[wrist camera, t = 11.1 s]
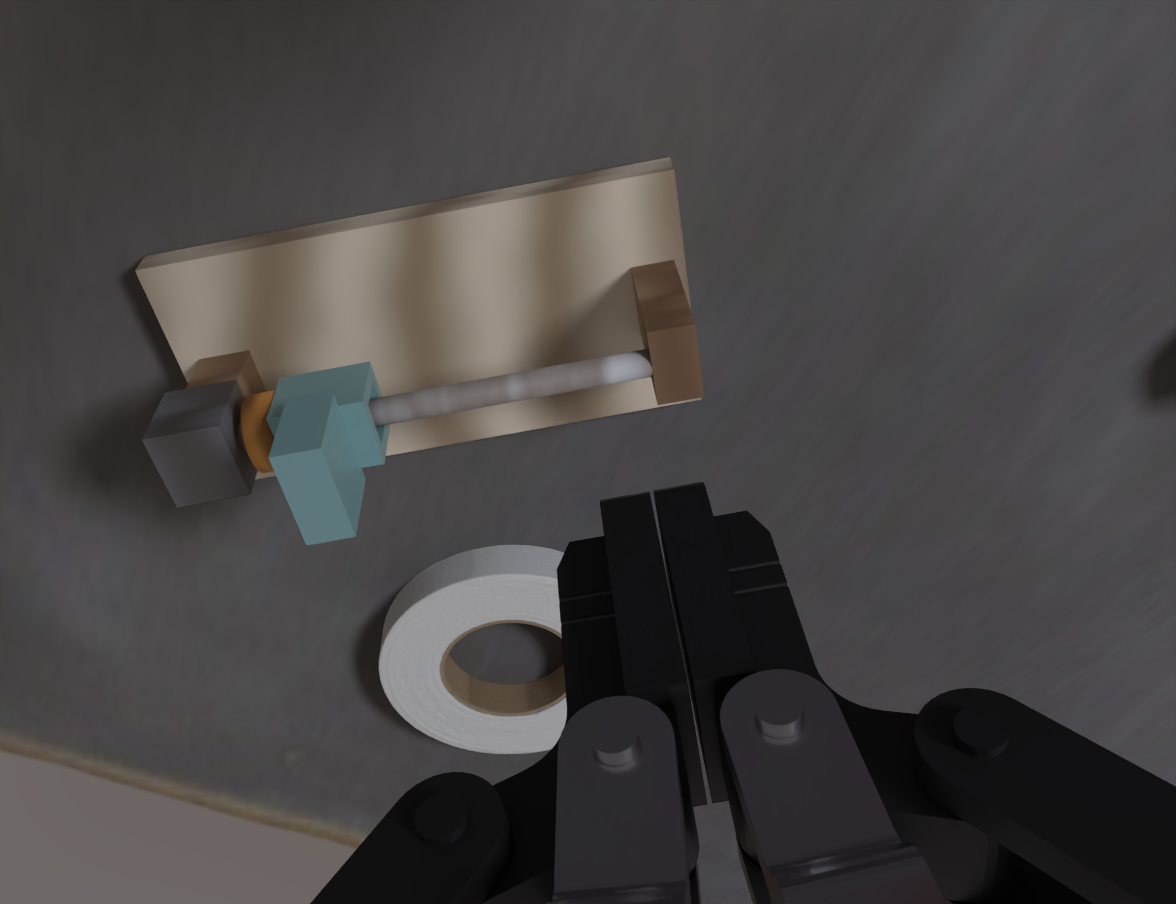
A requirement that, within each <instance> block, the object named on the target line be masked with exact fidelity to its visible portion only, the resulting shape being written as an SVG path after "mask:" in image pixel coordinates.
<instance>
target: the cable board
mask: <svg viewBox="0 0 1176 904" xmlns="http://www.w3.org/2000/svg"><path fill="white" fill-rule="evenodd" d="M135 272H136V274H137V276H138V278H139V280H140V283H141V285H142V287H143V289H144V291H145V293H146V295H147V298H148V300H149V302H150V304H151V306H152V308H153V310H154V312H155V315H156V317H157V319H158V321H159V323H160V325H161V327H162V330H163V332H164V334H165V336H166V338H167V340H168V342H169V345H170V347H171V349H172V351H173V353H174V355H175V357H176V359H177V362H178V364H179V366H180V368H181V370H182V372H183V374H184V377H185V379H186V381H187V383H188V384H187V387H186V389H181V390H176V391H170V392H165V393H164V395H163V397H162V399H161V401H160V403H159V406H158V408H157V410H156V412H155V414H154V416H153V418H152V420H151V422H150V424H149V426H148V428H147V430H146V432H145V434H144V436H143V438H142V441H143V443H144V445H145V447H146V449H147V451H148V453H149V455H150V457H151V459H152V461H153V463H154V464H155V466H156V468H157V470H158V472H159V474H160V476H161V478H162V480H163V482H164V484H165V486H166V488H167V489H168V491H169V493H170V495H171V497H172V499H173V501H174V503H175V505H176V507H177V508H179V507H184V506H190V505H195V504H201V503H206V502H212V501H218V500H223V499H229V498H234V497H240V496H246V495H250V493H251V490H252V487H253V484H254V481H255V479H261V478H266V477H272V476H276V474H275V472H274V469H273V467H272V465H271V463H270V460H269V458H268V457H269V454H270V451H271V448H272V444H273V441H274V436H273V434H272V431H271V429H270V427H269V424H268V422H267V420H266V418H267V415H268V412H269V409H270V406H271V403H272V400H273V397H274V394H275V391H276V388H277V384H278V381H279V378H282V377H287V376H293V375H298V374H304V373H309V372H315V371H320V370H326V369H331V368H336V367H342V366H347V365H353V364H358V363H364V362H369V361H370V362H371V365H372V368H373V371H374V374H375V377H376V380H377V383H378V386H379V389H380V392H381V395H382V397H379V398H374V399H369V404H368V407H369V409H370V412H371V415H372V418H373V421H374V424H375V427H377V426H383V425H388V424H390V430H389V437H388V443H387V450H386V456H389V455H394V454H400V453H406V452H411V451H417V450H422V449H428V448H433V447H439V446H444V445H450V444H456V443H461V442H467V441H472V440H478V439H483V438H489V437H495V436H500V435H506V434H511V433H517V432H522V431H528V430H534V429H539V428H545V427H550V426H556V425H561V424H567V423H572V422H578V421H584V420H589V419H595V418H600V417H606V416H611V415H617V414H623V413H628V412H634V411H639V410H645V409H650V408H656V407H661V406H667V405H673V404H678V403H684V402H689V401H695V400H700V399H702V397H704V393H703V384H702V376H701V367H700V359H699V350H698V342H697V333H696V325H695V321H694V318H693V315H692V312H691V305H690V297H689V288H688V280H687V271H686V263H685V255H684V246H683V238H682V229H681V221H680V213H679V204H678V196H677V187H676V179H675V171H674V167H673V165H672V162H671V160H670V157H668V158H663V159H657V160H652V161H647V162H641V163H636V164H631V165H626V166H620V167H615V168H610V169H604V170H599V171H594V172H588V173H583V174H578V175H573V176H567V177H562V178H557V179H551V180H546V181H541V182H535V183H530V184H525V185H519V186H514V187H509V188H504V189H498V190H493V191H488V192H482V193H477V194H472V195H466V196H461V197H456V198H450V199H445V200H440V201H435V202H429V203H424V204H419V205H413V206H408V207H403V208H397V209H392V210H387V211H381V212H376V213H371V214H366V215H360V216H355V217H350V218H344V219H339V220H334V221H328V222H323V223H318V224H312V225H307V226H302V227H297V228H291V229H286V230H281V231H275V232H270V233H265V234H259V235H254V236H249V237H243V238H238V239H233V240H228V241H222V242H217V243H212V244H206V245H201V246H196V247H190V248H185V249H180V250H175V251H169V252H164V253H159V254H153V255H148V256H144V258H143V259H142V261H141V262H140V264H139V265H138V267H137V268H136V270H135Z"/></svg>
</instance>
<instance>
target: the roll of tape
mask: <svg viewBox="0 0 1176 904" xmlns="http://www.w3.org/2000/svg"><path fill="white" fill-rule="evenodd" d="M563 555H564V553H563V552H560V551H557V550H553V549H549V548H543V547H536V546H527V545H499V546H491V547H484V548H479V549H474V550H470V551H466V552H462V553H459V554H456V555H454V556H451V557H449V558H446V559H444V560H442V561H439V562H437V563H435V564H433V565H432V566H430V567H428V568H426V569H425V570H423V571H422V572H420V573H419V574H418V575H416V576H415V577H414V578H413V579H412V580H410V581H409V582H408V583H407V584H406V585H405V587H404V588H403V589H402V590H401V591H400V592H399V594H398V595H397V596H396V598H395V599H394V601H393V602H392V604H391V606H390V608H389V610H388V613H387V615H386V618H385V622H384V627H383V633H382V640H381V648H380V655H379V675H380V681H381V684H382V687H383V689H384V692H385V694H386V696H387V698H388V700H389V701H390V703H391V704H392V706H393V707H394V708H395V710H396V711H397V712H398V713H399V714H400V715H401V716H402V717H403V718H404V719H405V720H406V721H407V722H408V723H410V724H411V725H412V726H414V727H415V728H416V729H418V730H420V731H421V732H423V733H425V734H426V735H428V736H430V737H432V738H434V739H436V740H439V741H441V742H444V743H447V744H449V745H452V746H455V747H459V748H463V749H467V750H471V751H477V752H484V753H494V754H520V753H532V752H539V751H545V750H550V749H552V748H553V747H554V745H555V744H556V743H557V741H558V739H559V738H560V736H561V733H562V731H563V729H564V726H565V722H566V717H567V704H566V690H565V676H564V663H563V664H562V665H561V666H560V667H559V668H558V669H556V670H555V671H554V672H552V673H550V674H549V675H547V676H545V677H543V678H540V679H538V680H535V681H532V682H528V683H522V684H495V683H490V682H485V681H482V680H480V679H477V678H475V677H473V676H471V675H469V674H467V673H466V672H464V671H463V670H462V669H460V668H459V667H458V666H457V665H456V664H455V662H454V661H453V660H452V658H451V656H450V655H449V652H450V650H451V649H452V647H453V646H454V645H455V644H456V643H457V642H458V641H459V640H460V639H462V638H463V637H464V636H466V635H467V634H469V633H471V632H473V631H475V630H477V629H480V628H483V627H486V626H490V625H495V624H502V623H522V624H529V625H534V626H538V627H541V628H544V629H546V630H548V631H551V632H552V633H554V634H555V635H557V636H559V637H560V638H561V639H562V635H561V621H560V608H559V603H560V602H559V595H558V581H557V568H558V566H559V563H560V561H561V559H562V557H563Z"/></svg>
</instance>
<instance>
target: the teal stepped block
mask: <svg viewBox="0 0 1176 904" xmlns="http://www.w3.org/2000/svg"><path fill="white" fill-rule="evenodd" d="M379 397H382V395H381V392H380V389H379V386H378V383H377V380H376V377H375V374H374V371H373V368H372V365H371V362H370V361H369V362H364V363H358V364H353V365H347V366H342V367H336V368H331V369H326V370H320V371H315V372H309V373H304V374H298V375H293V376H287V377H282V378H279V381H278V384H277V388H276V391H275V394H274V397H273V400H272V403H271V406H270V409H269V412H268V415H267V418H266V420H267V422H268V424H269V427H270V429H271V431H272V434H273V436H274V441H273V444H272V448H271V451H270V454H269V457H268V458H269V460H270V463H271V465H272V467H273V469H274V472H275V474H276V476H277V479H278V481H279V483H280V485H281V488H282V490H283V492H284V495H285V497H286V499H287V502H288V504H289V506H290V508H291V511H292V513H293V515H294V518H295V520H296V522H297V525H298V527H299V529H300V531H301V534H302V536H303V538H304V541H305V543H306V545H312V544H318V543H323V542H329V541H335V540H340V539H346V538H352V537H356V532H357V526H358V521H359V515H360V509H361V503H362V497H363V491H364V485H365V476H364V474H363V471H362V468H364V467H370V466H376V465H381V464H385V457H386V450H387V443H388V437H389V430H390V424H388V425H383V426H377V427H375V424H374V421H373V418H372V415H371V412H370V409H369V407H368V404H369V399H374V398H379Z"/></svg>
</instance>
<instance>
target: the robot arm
mask: <svg viewBox="0 0 1176 904" xmlns="http://www.w3.org/2000/svg"><path fill="white" fill-rule="evenodd" d="M654 498H655V504H656V510H657V516H658V523H659V529H660V535H661V541H662V547H663V553H664V559H665V566H666V572H667V577H668V582H667V577H666V572H665V567H664V562H663V557H662V552H661V547H660V542H659V537H658V532H657V527H656V522H655V517H654V512H653V507H652V502H651V497H650V493H649V492H643V493H638V494H632V495H627V496H621V497H615V498H610V499H604V500H600V507H601V515H602V522H603V530H604V536H601V537H595V538H590V539H584V540H578V541H573V542H569V544H568V546H567V548H566V550H565V553H564V555H563V557H562V559H561V561H560V563H559V566H558V568H557V581H558V595H559V602H560V603H559V608H560V621H561V635H562V649H563V663H564V676H565V690H566V704H567V717H566V722H565V726H564V729H563V731H562V733H561V736H560V738H559V739H558V741H557V743H556V744H555V745H554V747H553V748H552V749H551V750H550V752H549V753H547V754H546V755H545V756H544V757H543V758H542V759H541V760H540V761H538V762H537V763H536V764H534V765H533V766H531V767H529V768H528V769H526V770H524V771H522V772H520V773H518V774H516V775H514V776H512V777H510V778H508V779H506V780H503V781H501V782H499V783H497V784H495V785H493V786H492V785H491V784H490V783H489V782H487V781H486V780H484V779H483V778H481V777H479V776H476V775H474V774H469V773H464V772H450V773H443V774H439V775H436V776H433V777H430V778H428V779H426V780H424V781H422V782H420V783H418V784H417V785H415V786H414V787H412V788H411V789H410V790H409V791H407V792H406V793H405V794H404V795H403V796H402V797H401V798H400V799H399V800H398V802H397V803H396V804H395V805H394V806H393V807H392V809H391V810H390V811H389V812H388V813H387V814H386V816H385V817H384V818H383V819H382V820H381V821H380V823H379V824H378V825H377V826H376V827H375V828H374V830H373V831H372V832H371V833H370V834H369V835H368V837H367V838H366V839H365V840H364V841H363V842H362V844H361V845H360V846H359V847H358V848H357V850H356V851H355V852H354V853H353V854H352V855H351V857H350V858H349V859H348V860H347V861H346V862H345V864H344V865H343V866H342V867H341V868H340V869H339V871H338V872H337V873H336V874H335V875H334V876H333V878H332V879H331V880H330V881H329V882H328V883H327V885H326V886H325V887H324V888H323V889H322V890H321V892H320V893H319V894H318V895H317V896H316V898H315V899H314V900H313V901H312V902H311V903H310V904H702V903H701V893H700V882H699V872H698V865H697V859H698V855H699V839H698V833H697V828H696V822H695V816H694V810H693V807H695V806H701V805H707V800H706V794H705V787H704V781H703V775H702V769H701V762H700V756H699V750H698V744H697V737H696V731H695V725H694V719H693V712H692V706H691V700H692V705H693V709H694V714H695V719H696V724H697V729H698V734H699V739H700V744H701V749H702V754H703V759H704V764H705V769H706V774H707V779H708V784H709V789H710V794H711V799H712V803H717V802H723V801H729V804H730V809H731V814H732V818H733V823H734V827H735V832H736V840H737V847H738V854H739V859H740V863H741V866H742V870H743V873H744V876H745V880H746V883H747V886H748V890H749V893H750V896H751V900H752V903H753V904H1176V786H1174V785H1172V784H1170V783H1168V782H1166V781H1164V780H1163V779H1161V778H1159V777H1157V776H1155V775H1153V774H1152V773H1150V772H1148V771H1146V770H1144V769H1142V768H1140V767H1139V766H1137V765H1135V764H1133V763H1131V762H1129V761H1128V760H1126V759H1124V758H1122V757H1120V756H1118V755H1116V754H1115V753H1113V752H1111V751H1109V750H1107V749H1105V748H1103V747H1102V746H1100V745H1098V744H1096V743H1094V742H1092V741H1091V740H1089V739H1087V738H1085V737H1083V736H1081V735H1079V734H1078V733H1076V732H1074V731H1072V730H1070V729H1068V728H1066V727H1065V726H1063V725H1061V724H1059V723H1057V722H1055V721H1053V720H1052V719H1050V718H1048V717H1046V716H1044V715H1042V714H1041V713H1039V712H1037V711H1035V710H1033V709H1031V708H1029V707H1028V706H1026V705H1024V704H1022V703H1020V702H1018V701H1016V700H1015V699H1013V698H1010V697H1008V696H1006V695H1004V694H1001V693H998V692H995V691H991V690H986V689H978V688H963V689H956V690H951V691H948V692H945V693H942V694H940V695H938V696H936V697H935V698H933V699H931V700H930V701H929V702H928V703H927V704H926V705H925V706H924V707H923V708H922V710H921V711H920V713H919V714H910V713H901V712H892V711H882V710H876V709H871V708H867V707H864V706H860V705H858V704H855V703H853V702H851V701H848V700H847V699H845V698H843V697H842V696H840V695H838V694H837V693H836V692H835V691H833V690H832V689H831V688H830V687H829V686H828V685H827V684H826V683H825V682H824V681H823V679H822V678H821V676H820V675H819V673H818V671H817V668H816V666H815V664H814V661H813V658H812V655H811V652H810V649H809V646H808V643H807V640H806V637H805V634H804V631H803V628H802V625H801V622H800V619H799V616H798V613H797V610H796V608H795V605H794V602H793V599H792V596H791V593H790V590H789V587H788V586H787V581H786V578H785V575H784V572H783V569H782V566H781V565H780V562H779V557H778V554H777V552H776V549H775V546H774V543H773V540H772V537H771V534H770V532H769V531H768V530H767V529H766V528H765V527H764V526H763V525H762V524H761V523H760V522H759V521H758V520H756V519H755V518H754V517H753V516H752V515H751V514H750V513H749V512H748V511H742V512H736V513H731V514H725V515H719V516H714V517H713V513H712V509H711V506H710V502H709V498H708V495H707V491H706V488H705V485H704V482H699V483H693V484H687V485H682V486H676V487H670V488H665V489H659V490H654ZM668 583H669V587H668ZM669 589H670V592H669ZM670 594H671V597H670ZM671 600H672V602H671ZM672 605H673V607H672ZM673 610H674V612H673ZM674 615H675V617H674ZM675 620H676V622H675ZM676 625H677V627H676ZM677 630H678V632H677ZM678 635H679V637H678ZM679 640H680V642H679ZM680 645H681V647H680ZM681 650H682V652H681ZM682 655H683V657H682ZM683 660H684V662H683ZM684 665H685V667H684ZM685 670H686V672H685ZM686 675H687V677H686ZM687 680H688V682H687ZM688 685H689V687H688ZM689 690H690V694H689ZM690 695H691V700H690Z"/></svg>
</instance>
